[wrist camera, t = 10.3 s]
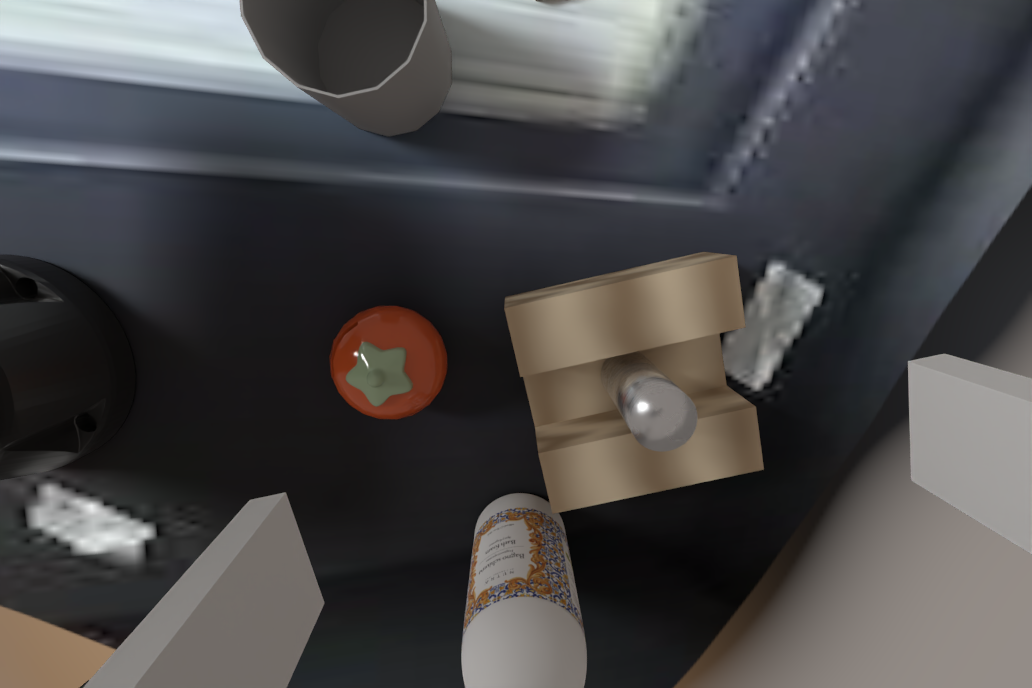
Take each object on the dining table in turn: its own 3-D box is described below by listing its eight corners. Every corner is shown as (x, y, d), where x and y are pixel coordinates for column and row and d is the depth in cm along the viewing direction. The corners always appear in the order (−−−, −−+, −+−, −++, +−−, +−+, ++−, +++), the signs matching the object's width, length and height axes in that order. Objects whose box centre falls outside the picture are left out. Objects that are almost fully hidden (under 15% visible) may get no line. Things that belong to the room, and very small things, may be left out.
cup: (466, 13, 32) (446, -83, 22) (438, 149, 33) (408, 117, 24) (331, -25, 31) (249, -141, 21) (309, 115, 33) (224, 67, 23)
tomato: (375, 278, 35) (337, 292, 27) (472, 327, 36) (461, 354, 28) (333, 370, 37) (285, 408, 29) (427, 415, 37) (405, 464, 30)
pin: (605, 402, 36) (636, 457, 28) (596, 355, 36) (624, 396, 27) (655, 391, 36) (702, 443, 28) (646, 343, 36) (692, 381, 27)
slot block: (546, 476, 39) (552, 514, 33) (505, 296, 35) (504, 308, 30) (730, 437, 38) (763, 469, 33) (703, 251, 35) (736, 255, 30)
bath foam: (543, 476, 39) (579, 729, 19) (577, 550, 40) (642, 856, 20) (460, 509, 39) (411, 789, 20) (496, 581, 40) (485, 909, 21)
